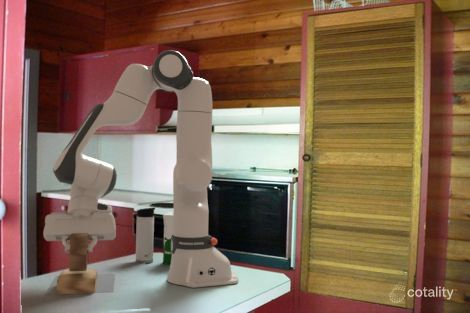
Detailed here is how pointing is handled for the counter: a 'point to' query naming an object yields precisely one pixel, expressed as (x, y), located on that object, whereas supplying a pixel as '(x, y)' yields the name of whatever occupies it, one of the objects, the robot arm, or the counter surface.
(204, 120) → the robot arm
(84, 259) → the walnut column
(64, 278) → the oak base block
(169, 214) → the milk carton
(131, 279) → the counter surface
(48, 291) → the grey mat
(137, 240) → the travel mug
